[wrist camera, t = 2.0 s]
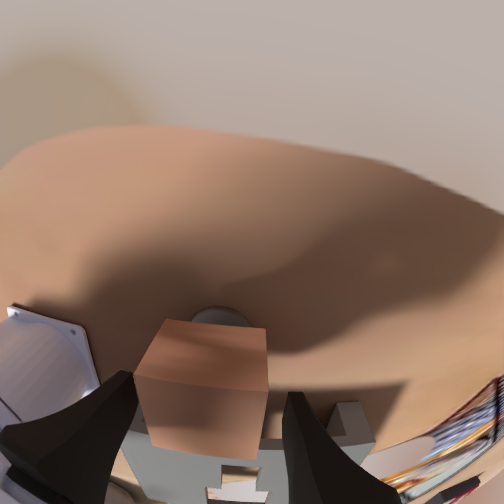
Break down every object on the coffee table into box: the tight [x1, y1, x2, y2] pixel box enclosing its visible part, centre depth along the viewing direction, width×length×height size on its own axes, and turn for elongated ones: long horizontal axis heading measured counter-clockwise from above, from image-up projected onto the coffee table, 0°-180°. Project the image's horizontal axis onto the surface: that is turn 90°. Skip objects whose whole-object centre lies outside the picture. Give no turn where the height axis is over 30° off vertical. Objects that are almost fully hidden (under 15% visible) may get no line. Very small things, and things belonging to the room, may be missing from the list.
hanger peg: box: [134, 306, 269, 460], centre depth 13 cm, size 5×5×8 cm
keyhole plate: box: [120, 386, 376, 504], centre depth 18 cm, size 18×14×4 cm
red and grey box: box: [425, 476, 480, 504], centre depth 29 cm, size 11×4×15 cm
